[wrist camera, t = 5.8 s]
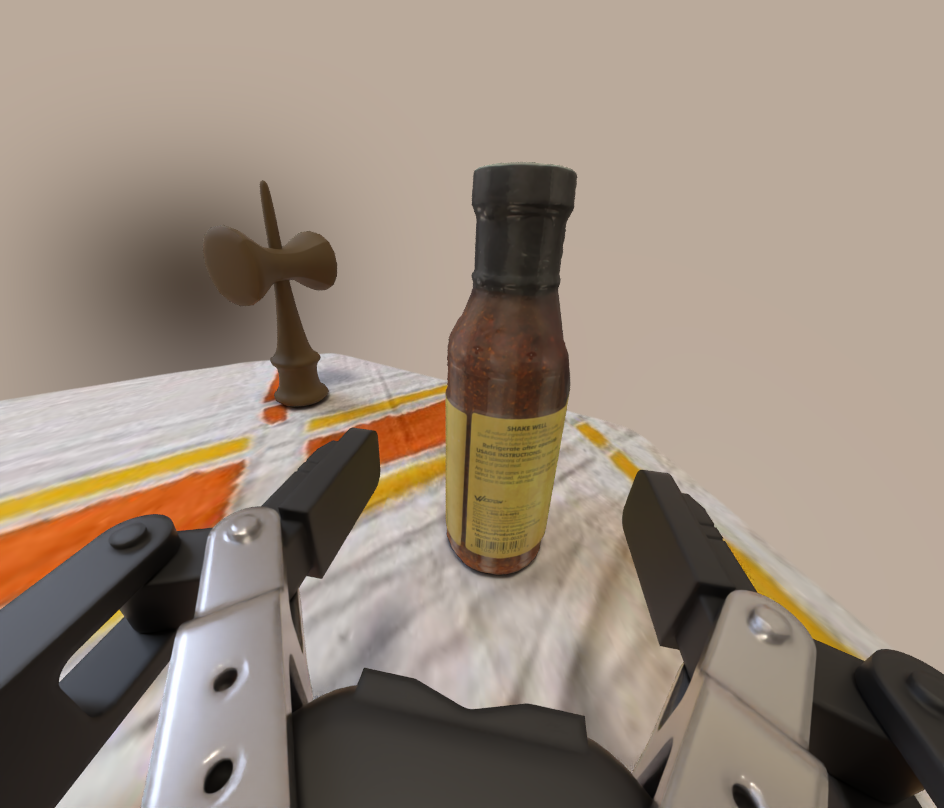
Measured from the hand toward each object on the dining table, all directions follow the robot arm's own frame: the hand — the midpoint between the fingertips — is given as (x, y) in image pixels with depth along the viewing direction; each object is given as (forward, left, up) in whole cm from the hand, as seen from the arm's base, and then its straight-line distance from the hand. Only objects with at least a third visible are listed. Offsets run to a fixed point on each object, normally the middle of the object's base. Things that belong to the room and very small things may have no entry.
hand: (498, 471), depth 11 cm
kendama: (+22, -21, -11) cm, 33 cm away
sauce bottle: (0, -7, -11) cm, 13 cm away
